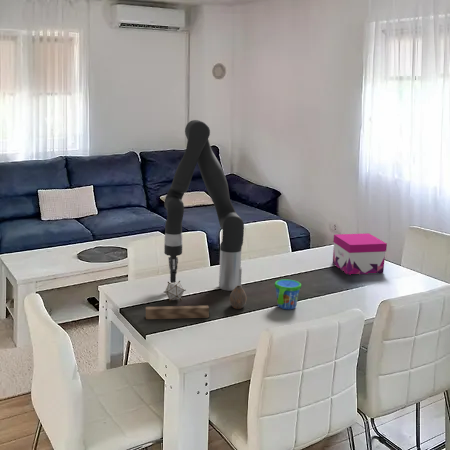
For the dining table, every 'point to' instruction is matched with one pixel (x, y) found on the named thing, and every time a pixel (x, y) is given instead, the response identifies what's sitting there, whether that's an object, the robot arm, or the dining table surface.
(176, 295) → the game die
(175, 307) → the board
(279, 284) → the snack cup
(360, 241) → the decorative box
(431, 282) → the dining table surface
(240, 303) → the vase
